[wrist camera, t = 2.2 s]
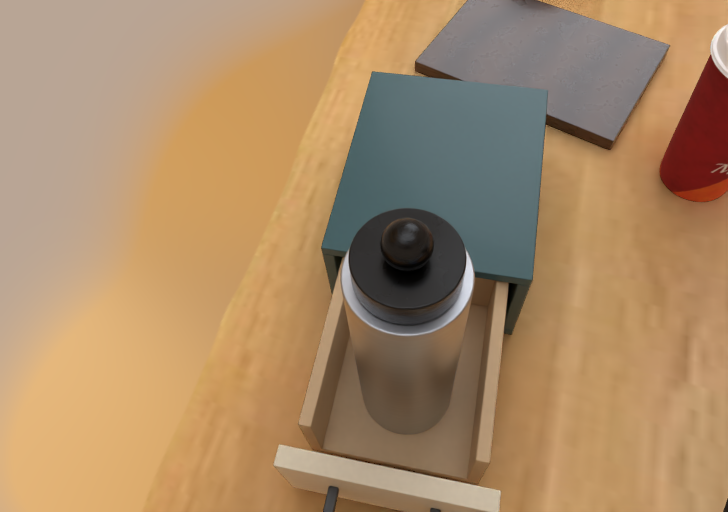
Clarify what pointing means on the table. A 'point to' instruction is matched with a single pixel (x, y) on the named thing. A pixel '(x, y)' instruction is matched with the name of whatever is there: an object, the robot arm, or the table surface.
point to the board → (549, 61)
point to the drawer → (408, 451)
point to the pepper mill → (407, 315)
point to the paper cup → (702, 133)
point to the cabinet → (449, 170)
